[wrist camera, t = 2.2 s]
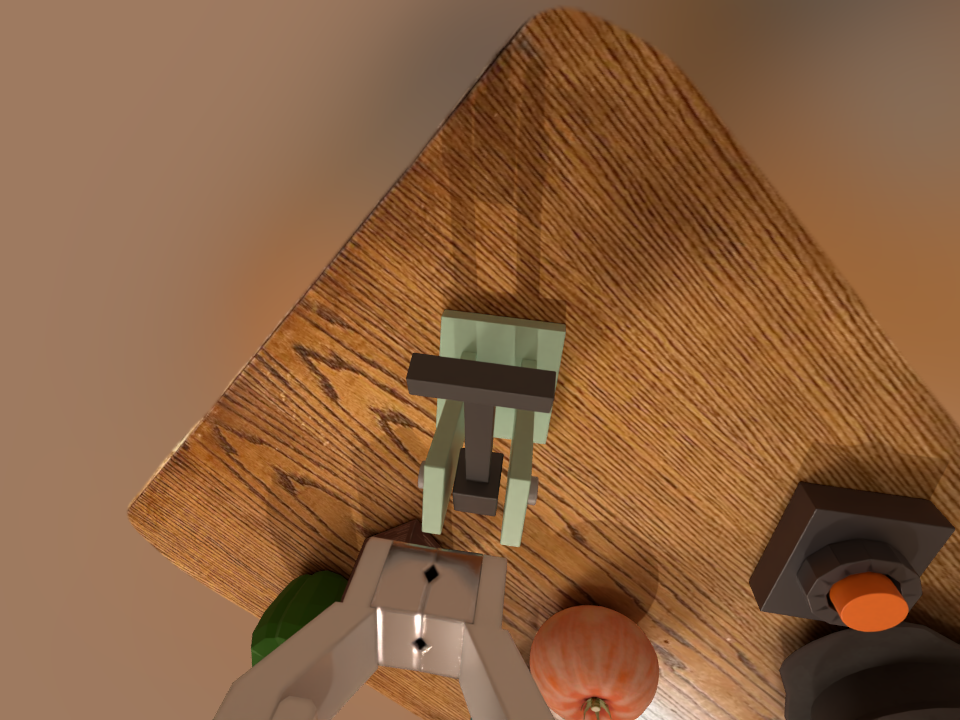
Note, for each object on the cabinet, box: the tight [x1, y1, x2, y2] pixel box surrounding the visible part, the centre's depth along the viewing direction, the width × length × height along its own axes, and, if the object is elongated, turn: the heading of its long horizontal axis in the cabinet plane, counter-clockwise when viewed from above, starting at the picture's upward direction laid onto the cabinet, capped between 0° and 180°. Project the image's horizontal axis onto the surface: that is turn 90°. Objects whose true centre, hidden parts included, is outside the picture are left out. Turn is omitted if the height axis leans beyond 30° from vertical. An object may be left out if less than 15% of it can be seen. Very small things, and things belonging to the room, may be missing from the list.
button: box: [829, 572, 909, 632], centre depth 35 cm, size 4×4×2 cm
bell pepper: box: [251, 570, 348, 667], centre depth 45 cm, size 8×8×10 cm
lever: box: [406, 353, 556, 516], centre depth 22 cm, size 12×5×2 cm, turn 175°
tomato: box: [530, 605, 659, 720], centre depth 44 cm, size 11×11×8 cm
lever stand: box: [418, 309, 566, 547], centre depth 30 cm, size 9×8×13 cm
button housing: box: [749, 482, 955, 627], centre depth 37 cm, size 11×9×4 cm
